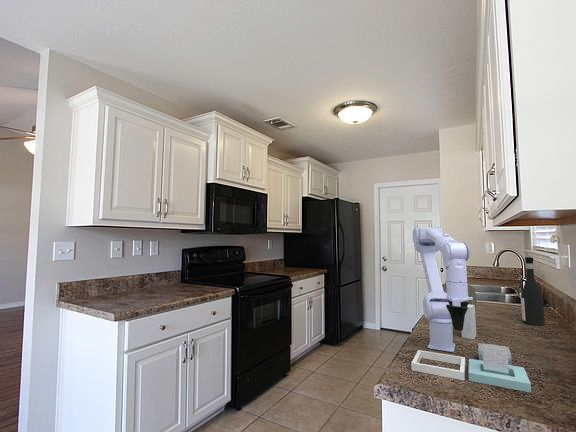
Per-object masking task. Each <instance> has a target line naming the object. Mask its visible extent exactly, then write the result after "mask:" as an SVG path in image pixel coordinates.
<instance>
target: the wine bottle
mask: <svg viewBox="0 0 576 432" xmlns="http://www.w3.org/2000/svg"><path fill="white" fill-rule="evenodd" d="M524 261H525V269H526V270H525V271H526V272H525V273H526V279H525V283H524V285H523V287H522V289H521V293H520V302H521V303H520V305H521V318H522V322H523V323H524V324H526V323H527V324H526V325H529V324H537V325H541V326H543V325H542V324H544V325H545V324H546V322H545V319H546V318H545V309H544V308H545V307H544V306H545V305H544V297H543V293H542V291H541V290H540V288H539V285H538V284H537V282H536V279H535V272H534V271H535V270H534V257H532V256H531V257H530V256H526V257H524Z"/></svg>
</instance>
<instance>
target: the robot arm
mask: <svg viewBox="0 0 576 432" xmlns="http://www.w3.org/2000/svg"><path fill="white" fill-rule="evenodd" d="M412 241H413V246H414V249H415V251H416V252H418V253H419V254H420V259H421V263H422V267H423V272H424V275H425V280H426V285H427V289H428V294H427V295H425V296H424V297H423V298H422V299H423V300H422V308H423V315H424V317H425V319H426V320H427V321H429V325H428V327H429V343H428V345H427V349H430V350H434V351H436V350H437V351H442V352H450V353H455V350H456V349H455V348H456V343H454V340H453V339H454V337H453V336H454V334H453V329H454V331H458V332H461V331H462V330H463V325H464V318H465V314H466V312H467V310H468V307H467V306H468V304H469V302H466V301H467V300H473V298H472V297H468V287H467V284H468V274H467V273H468V271H467V270H468V269H467V261H468V260H469V259H470V255H471V254H470V248H469V245H468V244H467V242H466V241H465V242H464V241H463V242H458V241H457V240H456V239H454V238H453V237H452V236H450V234H449V233H444V232H443V229H442V228H441V227H440V226H434V227H432V226H431V227H428V226H427V227H425V226H424V227H422V226H421V227H418V226H415V227H414V228H413V230H412ZM437 252H440V253H441V257H442V261H443V266H444V267H445V283H446V288H447V293H445V292H444V291H443V287H442V284H443V283H442V278H441V276H440V271H439V268H438V265H437V259H436V256H435V255H436V254H435V253H437Z"/></svg>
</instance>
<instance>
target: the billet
mask: <svg viewBox="0 0 576 432" xmlns="http://www.w3.org/2000/svg"><path fill="white" fill-rule="evenodd" d="M481 344H482V351H483V370H484V372H489V373H495V374H501V375H506V376H509V369H508V351H507V348H506V347H507V346H506V345H498V344H494V345H491V344H492V343H481Z"/></svg>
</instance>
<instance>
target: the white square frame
mask: <svg viewBox="0 0 576 432" xmlns="http://www.w3.org/2000/svg"><path fill="white" fill-rule="evenodd" d="M422 359H425V360H430V361H431V360H432V361H437V362H443V363H448V364H449V363H450V364H455V365H460V367H459V369H454V368H448V367H442V366H437V365H432V364H426V363H420V362H421V360H422ZM410 363H411V364H410V365H411V371H413V372H417V373H418V372H419V373H423V374H428V375H429V374H430V375H435V376H439V377H443V378H449V379H454V380H460V381H465V377H466V357H465V356H458V355H452V354H446V353H439V352H434V351H426V350H421V349H418V350H417V352H416V354H415V356H414V357H413V359H412V360H411V362H410Z"/></svg>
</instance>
